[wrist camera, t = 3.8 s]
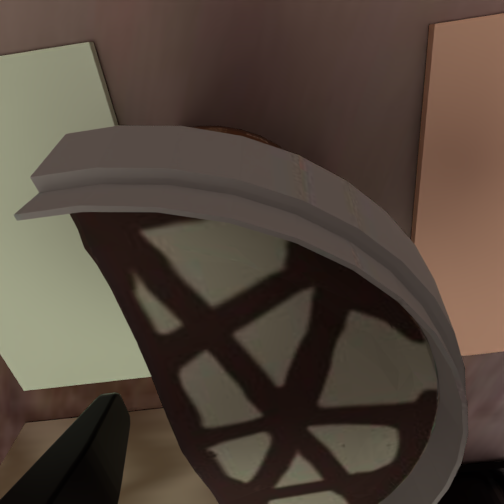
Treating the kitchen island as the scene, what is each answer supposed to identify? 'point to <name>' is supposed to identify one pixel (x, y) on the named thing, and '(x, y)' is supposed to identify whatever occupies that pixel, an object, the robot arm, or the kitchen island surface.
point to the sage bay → (54, 231)
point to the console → (136, 462)
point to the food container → (269, 314)
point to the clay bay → (464, 177)
